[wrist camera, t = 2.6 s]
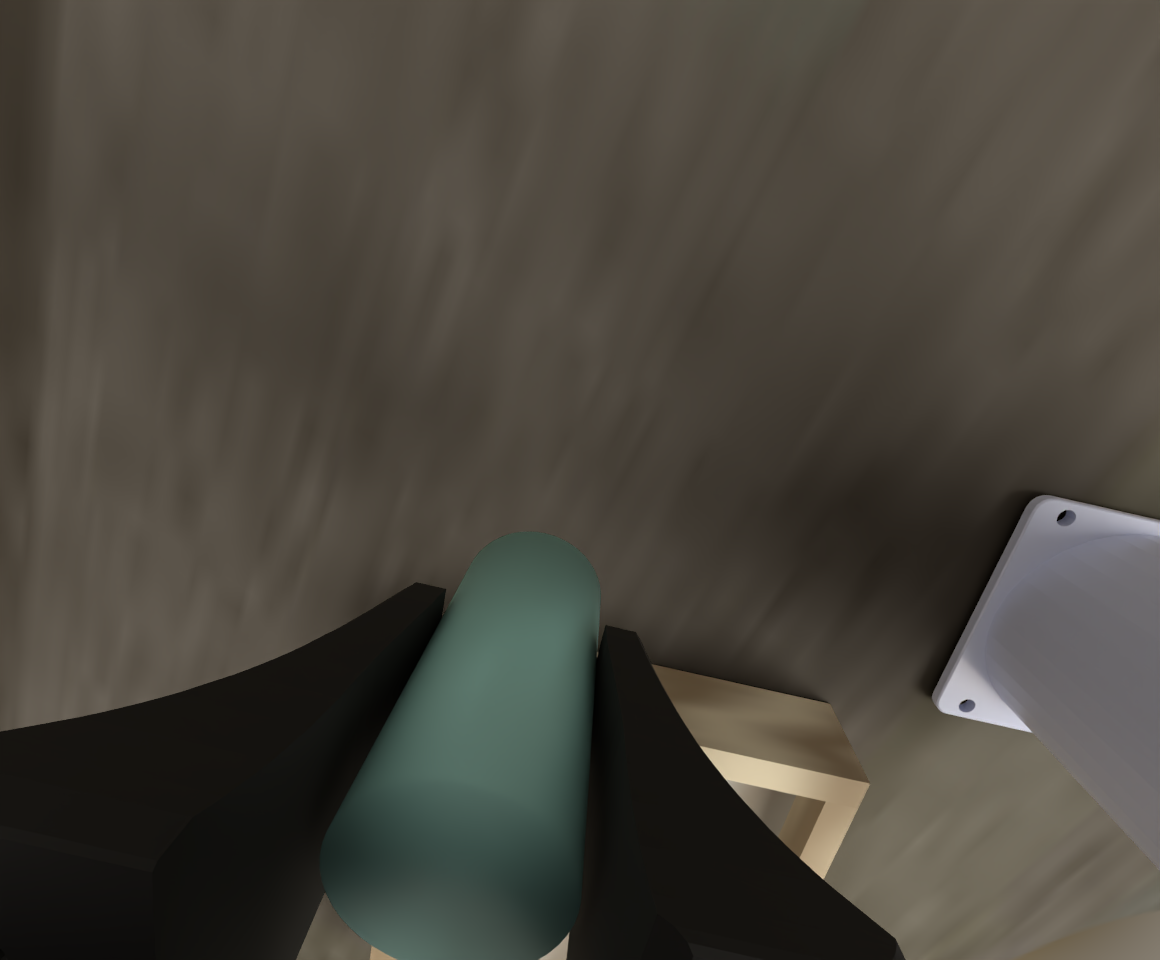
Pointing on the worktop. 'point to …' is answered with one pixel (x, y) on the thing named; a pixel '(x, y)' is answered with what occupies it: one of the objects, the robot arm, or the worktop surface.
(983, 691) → the robot arm
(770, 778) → the bore tray
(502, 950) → the peg
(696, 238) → the worktop surface
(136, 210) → the worktop surface
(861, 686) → the worktop surface
